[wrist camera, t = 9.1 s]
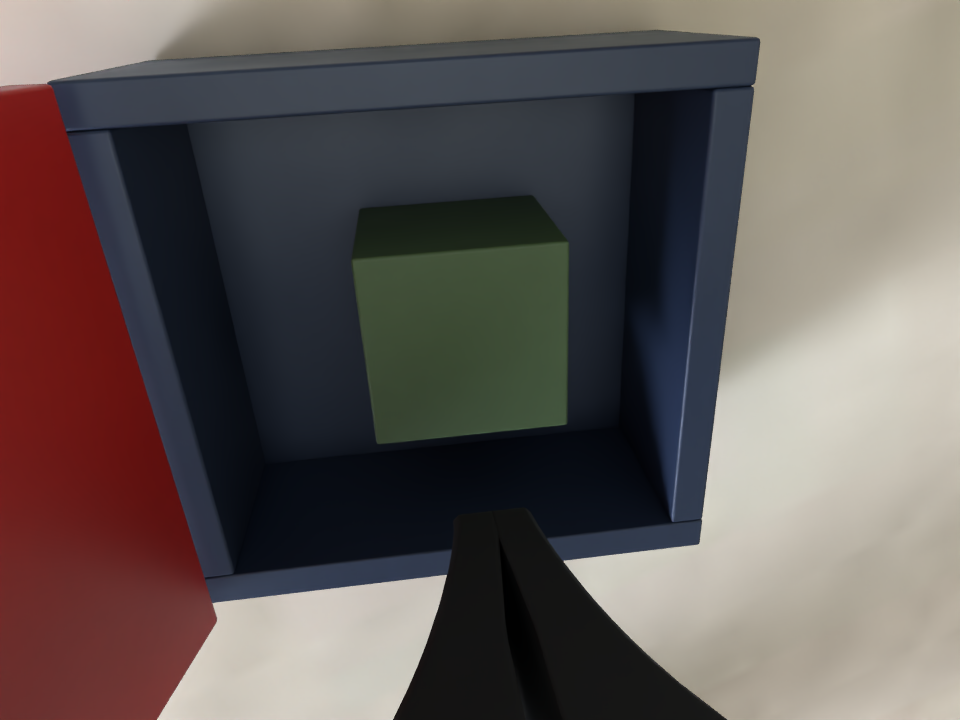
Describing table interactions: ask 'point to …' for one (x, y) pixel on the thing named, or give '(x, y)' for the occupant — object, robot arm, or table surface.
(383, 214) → the block
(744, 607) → the table surface
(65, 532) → the lid
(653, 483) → the dark blue open box
